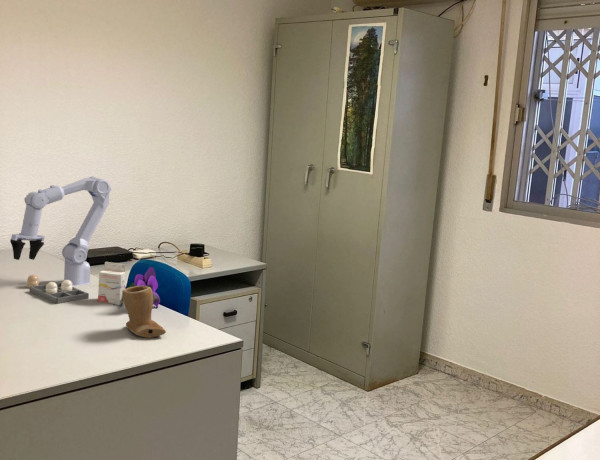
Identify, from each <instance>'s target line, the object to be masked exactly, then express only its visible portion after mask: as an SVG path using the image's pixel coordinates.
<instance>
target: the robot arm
mask: <svg viewBox="0 0 600 460" xmlns="http://www.w3.org/2000/svg"><path fill="white" fill-rule="evenodd" d="M82 191H87V192H88V194H89V195H90V196H91V198H92V202H93V203H92V205H91V207H90V209H89V210H88V213H87V214H86V216H85V218H84V220H83V221H82V223H81V225H80V227H79V229H78V230H77V233H76V235H75V236H74V237H73V238H71V239H70V240H69V242H68V243H67V244H66V245H65V246H63V248H62V250H61V254H62V257H63V258H64V268H63V269H64V271H63V272H64V274H63V276H64V277H63V280H62V281H61V282H63V281H64V280H70V281H71V282H72V287H77V286H83V285H91V284H92V283H91V267H90V263H89V262H87V261H86V260H87V256H88V251H89V249H90V246H89V242H90V240H91V238H92V236H93V234H94V233H95V231H96V229H97V227H98V225H99V223H100V221H101V219H102V217H103V216H104V213H105V212H106V210H107V208H108V207H109V205H110V204H109V203H110V193H111V191H112V187H111V185H110V182H109V181H108V180H107V179H105V178H99V177H96V176H88V177H84V178H81V179H80V180H78V181H77V180H76V181H75V182H72V183H68V184H66V185H63V186H61V187H60V186H59V185H54V184H51V185H49V187H48V188H44V189H38V190H37V191H31V192H28V194H26V196H25V197H24V204H25V210H24V215H23V219H22V225H21V230H20V233H15V234H13V233H12V234H11V238H10V244H11V247H12V253H13V259H14V260H17V261H19V260H20V259H21V254H22V253H23V252H22V251H23V249H24V246H25V245H26V242H24V241H29V253H28V259H29V260H33V261H34V260H35V259H36V257H37V255H38V253H39V252H40V250H41V248H42V247H43V246H44V245H45V238H46V237H45V236H44V235H39V234H38V233H39V227H40V221H41V217H42V212H43V209H44V208H45V207H46V206H47V205H50V204H53V203H57V202H58V201H62V200H63V198H64V196H67V195H70V194H73V193H78V192H82Z"/></svg>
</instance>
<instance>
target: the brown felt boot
mask: <svg viewBox="0 0 600 460" xmlns="http://www.w3.org/2000/svg"><path fill="white" fill-rule="evenodd" d="M128 287H129V286H128ZM128 287H127V288H126V287H125V289H124V290H123V293H122V296H123V302H122V304H123V305H124V308H125V309H126V312H127V314H128V316H127V317H128V319H129V320H128V321H127V322H125V326H126V328H127V329H128V330H129V331H130V332H132V333H133V334H135V336H139V337H142V338H148V339H152V338H157V337H160V336H162V335H165V334H166V333H167V330H166V329H165V328H163V326H161V325H160V324H159V323H158V322H156V321H155V320H153V319H152V312H153V308H154V307H153V306H154V305H153V292H152V289H151V288H150V287H147V286H135V287H129V288H128Z"/></svg>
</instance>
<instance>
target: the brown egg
mask: <svg viewBox="0 0 600 460" xmlns="http://www.w3.org/2000/svg"><path fill="white" fill-rule="evenodd" d="M39 283H40V280H39V276H38V275H36V274H30V275H28V277H27V284H26V285H27V286H26V288H27V289H29V290H30V287H31V286H38V285H40V284H39Z"/></svg>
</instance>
